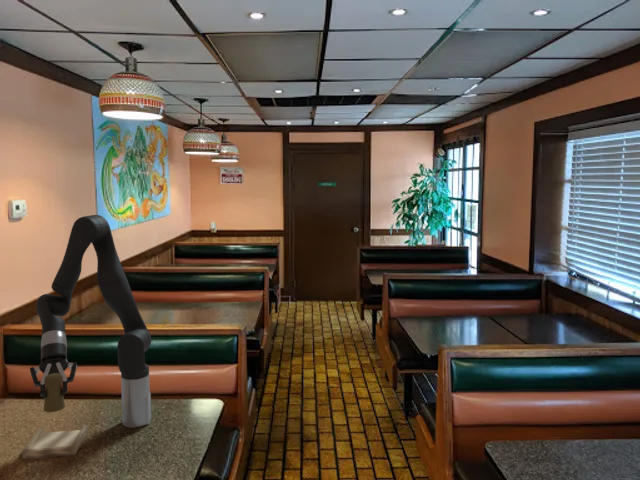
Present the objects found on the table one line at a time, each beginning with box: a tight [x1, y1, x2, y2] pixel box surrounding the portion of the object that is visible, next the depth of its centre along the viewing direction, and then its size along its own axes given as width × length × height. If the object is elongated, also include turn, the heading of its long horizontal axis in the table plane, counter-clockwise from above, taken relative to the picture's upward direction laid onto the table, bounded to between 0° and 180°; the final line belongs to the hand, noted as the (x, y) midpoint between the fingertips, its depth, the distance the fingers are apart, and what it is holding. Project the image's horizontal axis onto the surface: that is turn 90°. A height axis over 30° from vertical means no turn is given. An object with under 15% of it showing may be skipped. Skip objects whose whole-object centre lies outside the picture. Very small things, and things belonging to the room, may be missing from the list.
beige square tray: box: [21, 424, 89, 461], centre depth 159 cm, size 15×15×2 cm
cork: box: [43, 373, 66, 413], centre depth 157 cm, size 6×6×11 cm
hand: (54, 395), depth 155 cm, fingers closed on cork, 4 cm apart
